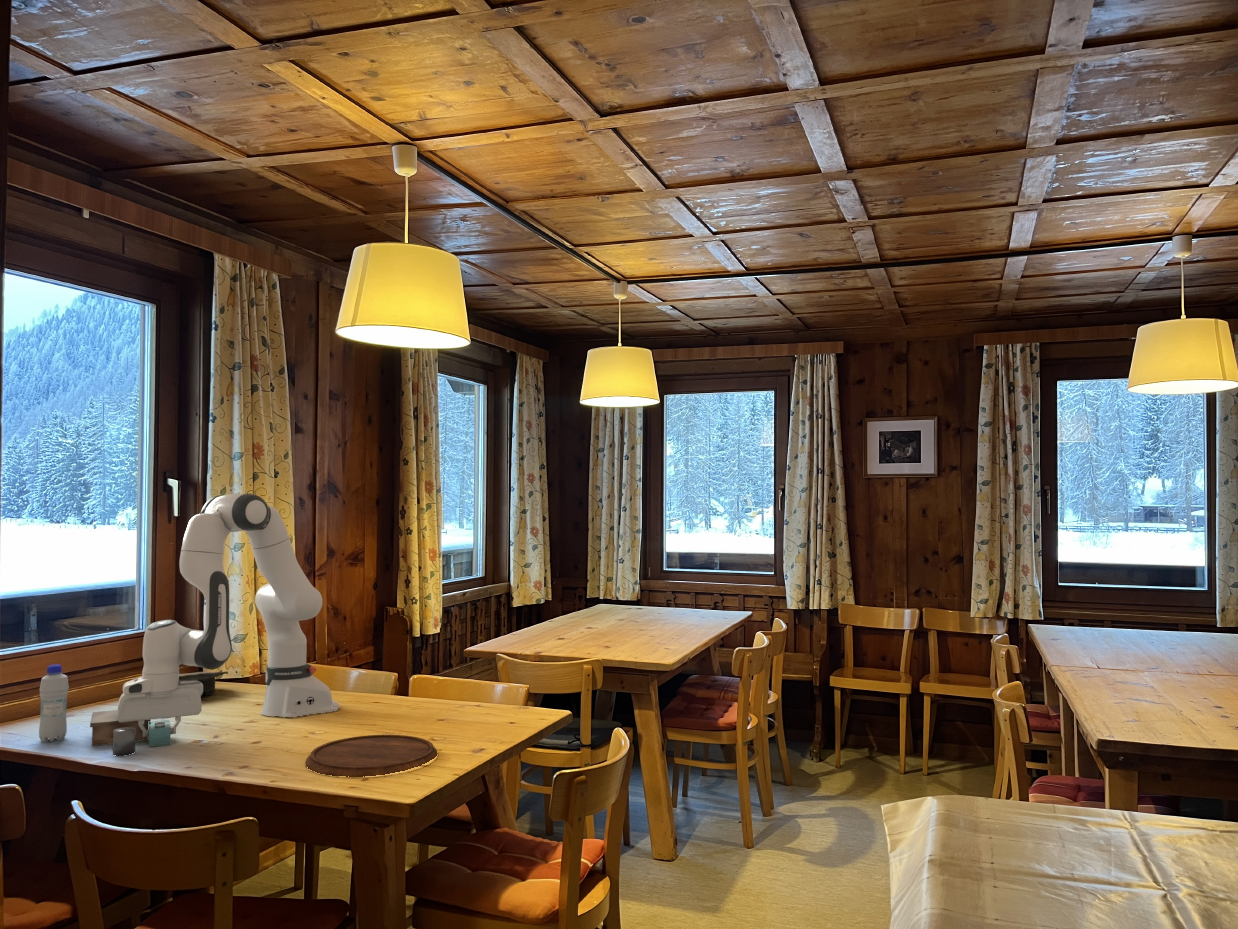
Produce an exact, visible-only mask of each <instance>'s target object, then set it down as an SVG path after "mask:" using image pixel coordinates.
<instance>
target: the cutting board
mask: <svg viewBox="0 0 1238 929" xmlns="http://www.w3.org/2000/svg"><path fill="white" fill-rule="evenodd" d="M437 751H438V749H436V747H435V746H434V744H433V742H431V741H430V740H427V739H425V738H421V737H417V736H412V735H403V734H369V735H360V736H352V737H346V738H342V739H337V740H333V741H329V742H327V743H324V744H321V745H319V746H317V747H316V748H315V747H314V749H313V750H312V751H311V752H310V754H309V755H308V756H307V758H306V760H305V762H304V763H305V764H306V765H305V764H304V765H305V767H306V768H307V767H308V769H310V770H312V771H315V772H317V773H320V774H325V775H332V776H346V777H348V776H349V777H363V776H364V777H365V776H376V775H385V774H390V773H395V772H400V771H405V770H408V769H411V768H414V767H418V766H421V765H422V764H425V763H427V762H429V761H430V760H432V759H434V758H435V757H436V756H437V754H438V755H439V752H438V753H437ZM308 769H307V770H308ZM310 770H309V771H310ZM312 771H311V772H312ZM317 773H316V774H317ZM320 774H319V775H320Z"/></svg>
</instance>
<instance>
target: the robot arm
mask: <svg viewBox="0 0 1238 929" xmlns="http://www.w3.org/2000/svg"><path fill="white" fill-rule="evenodd" d="M243 531H244V532H245V534H247V537H248V540H249V544H250V547H251V550H252V554H253V557H254V560H255V563H256V567H257V571H258V572H259V574H260V575H261V576H263V578H265V580H266V581H267V582H268V583H266V584H264V585H262V586H261V587H259V589H258V590H257V591H256V594H255V596H254V602H255V607H256V609H257V610H258V611H259V613H260V615H261V616H262V621H263V623H264V627H265V632H266V636H267V637H266V638H267V665H266V667H265V685H266V688H265V696H264V700H263V706H262V709H261V711H260V713H261V715H263V716H266V717H267V716H268V717H275V716H280V717H279V718H285V717H293V718H298V717H297V716H300V717H304V716H303V715H307V716H310V715H309V714H314V715H317V714H316V713H321V714H327V713H334V712H337V711H339V710H340V704H339V703H338V701H335V700H333V697H332V691H331V689H330V687H329V686H328V685H327V684H325V683H324V682H323V681H321V680H320V679H318V678H317V677H315V676H314V675H313V674H315V673H316V672H317V671H318V669H317V667H316V666H315V665H311V664H309V663H307V642H308V639H307V637H306V634H304V632H303V630H302V629H301V625H300V621H308V620H310V619H313V618H315V617H316V616H318V615H319V613H320V612H321V610H322V607H323V597H322V594H321V592H320V591H319V590H318V589H317V588H315V586H314V585H312V583H311V581H310V580H309V579H308V576H306V574H305V572H304V571H303V569H302V568H301V566H300V564H299V562H298V560H297V557H296V554H295V551H294V548H293V544H292V541H291V538H290V536H289V532H288V529H287V527H286V524H285V522H284V519H283V517H282V516H281V514H280V512H279V511H278V509H277V508H276V507H274V506H271V505H268V503H267V502H266V501H265V499H264V498H262V496H259V495H257V494H253V493H240V492H239V493H234V492H233V493H230V494H229V493H228V494H225V495H223V494H219V495H216V496H214V497H211V498H209V499H208V500H207V501H206V502H205V503H204V505H203V506H202V508H201V511H200V513H199V514H195V515H194V516H192V517H191V518H190V519H189V521H188V524H187V527H186V530H185V531H184V535H183V539H182V545H181V549H180V556H179V573H180V574H181V576H182V578H183V579H184V580H185V581H186V582H188V583H189V584H190V585H192V586H194V587H195V588H196V589H198V590H199V591H200V592H201V593H202V595H203V597H204V600H205V628H204V630H200V629H199V630H198V629H192V628H190V627H189V628H188V627H185V626H183V625H181V624H180V623H178V622H177V621H176V620H173V619H164V620H163V619H162V620H158V621H155V622H151V623H150V624H149V625H147V627H146V628H145V632H144V634H143V635H144V636H143V640H142V659H143V668H142V670H141V671H142V672H141V675H142V676H140V677H137V678H134V679H131V680H129V681H126V682H124V683H123V685H122V692H123V693H121V695H120V696H119V699H118V704H117V709H116V710H117V720H118V721H119V722H130V721H138V725H139V727H140V728H141V730H142V731H143V737H149V728H148V729H145V727H144V726H143V724H144V720H150V719H151V720H158V719H167V718H168V719H170V718H174V721H175V723H174V724H173V725H172V726H171V725H170V726H171V735H176V734H177V728H178V726H179V725H180V723H181V721H182V717H189V716H198V715H199V714H201V712H202V698H201V697H202V696H203V695H202V693H203V684H202V683H201V682H200V681H197V680H191V681H179V674H180V666H181V665H184V666H185V665H186V666H189V667H199V668H203V669H205V670H209V671H213V670H218V669H219V668H221V667H223V665H225V664H226V662H227V661H228V660H229V659H230V657H231V653H232V650H233V649H232V648H233V646H232V644H233V643H232V639H231V633H230V584H229V578H228V576H227V575H226V574H225V568H224V556H225V555H224V554H225V547H226V546H225V545H226V540H227V539H228V536H229V535H230V534H231V533H238V532H243ZM197 683H199V684H197ZM201 695H202V696H201ZM200 696H201V697H200ZM338 709H339V710H338ZM333 711H334V712H333ZM326 712H327V713H326ZM281 716H282V717H281Z"/></svg>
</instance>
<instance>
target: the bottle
mask: <svg viewBox="0 0 1238 929" xmlns="http://www.w3.org/2000/svg"><path fill="white" fill-rule="evenodd" d="M62 671H63V667H62V665H61V664H51V665H48V666H47V668H46V675H45V676H43V677H41V680H40V685H39V686H40V687H39V696H40V718H39V728H38V737H39V739H40V741H42V742H43V743H47V742H48V740H49V741H50V743H53V742H54V741H55V738H56V741H57V740H60V741H61V740H64V739H65V738H66V736H67V729H68V727H67V725H68V724H67V708H68V707H67V701H68V700H67V699H68V694H69V688H70V687H69V679H68V675H66V674H63V673H62ZM46 741H47V742H46Z"/></svg>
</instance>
